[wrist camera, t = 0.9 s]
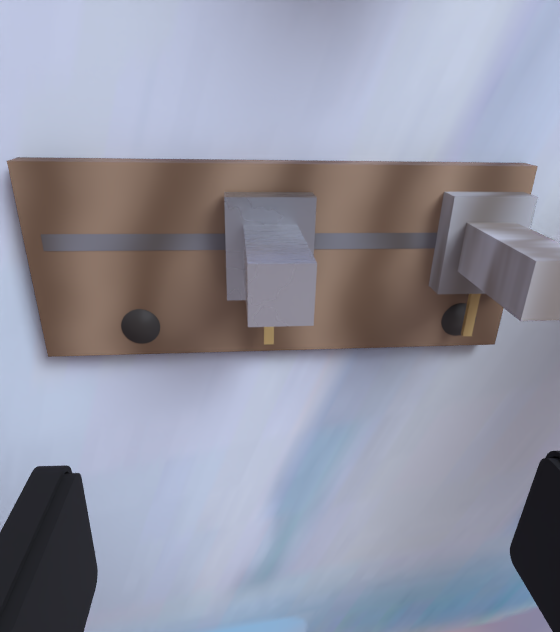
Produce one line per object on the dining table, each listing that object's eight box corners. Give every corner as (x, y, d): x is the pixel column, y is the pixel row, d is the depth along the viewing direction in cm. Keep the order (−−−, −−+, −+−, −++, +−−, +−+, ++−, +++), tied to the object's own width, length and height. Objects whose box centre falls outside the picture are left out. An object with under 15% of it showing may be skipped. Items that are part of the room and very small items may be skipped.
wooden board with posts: (523, 162, 30) (651, 193, 21) (484, 334, 35) (573, 419, 26) (18, 157, 27) (-89, 190, 18) (56, 345, 32) (-13, 445, 23)
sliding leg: (312, 192, 27) (342, 228, 20) (305, 332, 31) (328, 406, 24) (224, 191, 27) (222, 229, 20) (228, 334, 31) (228, 410, 23)
